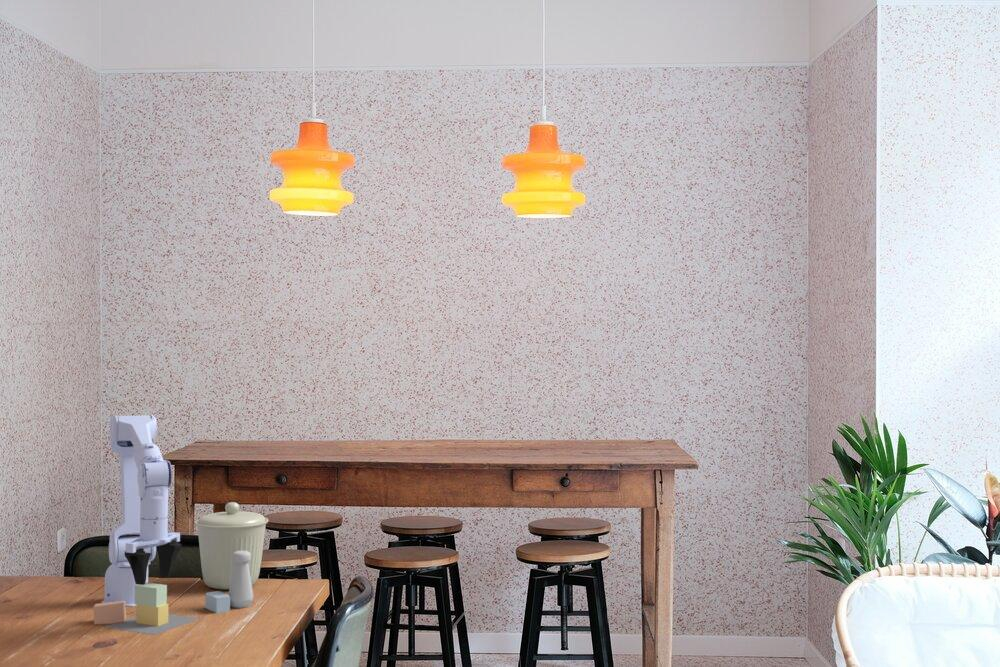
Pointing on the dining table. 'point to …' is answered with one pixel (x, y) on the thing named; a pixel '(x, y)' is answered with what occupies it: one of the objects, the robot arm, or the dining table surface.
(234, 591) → the salt shaker
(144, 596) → the green brick
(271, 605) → the dining table surface
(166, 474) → the robot arm
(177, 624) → the felt mat
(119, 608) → the terracotta brick
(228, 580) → the canister
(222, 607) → the slate brick
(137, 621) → the mustard brick
